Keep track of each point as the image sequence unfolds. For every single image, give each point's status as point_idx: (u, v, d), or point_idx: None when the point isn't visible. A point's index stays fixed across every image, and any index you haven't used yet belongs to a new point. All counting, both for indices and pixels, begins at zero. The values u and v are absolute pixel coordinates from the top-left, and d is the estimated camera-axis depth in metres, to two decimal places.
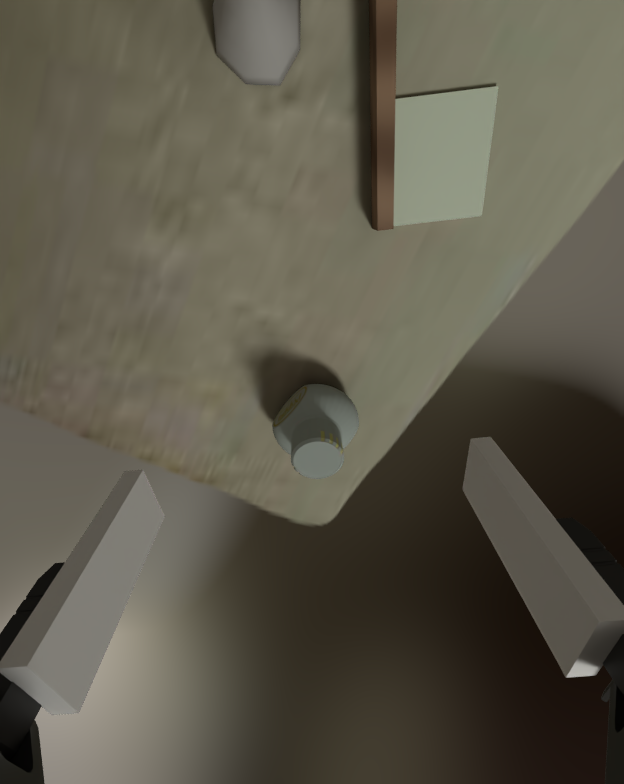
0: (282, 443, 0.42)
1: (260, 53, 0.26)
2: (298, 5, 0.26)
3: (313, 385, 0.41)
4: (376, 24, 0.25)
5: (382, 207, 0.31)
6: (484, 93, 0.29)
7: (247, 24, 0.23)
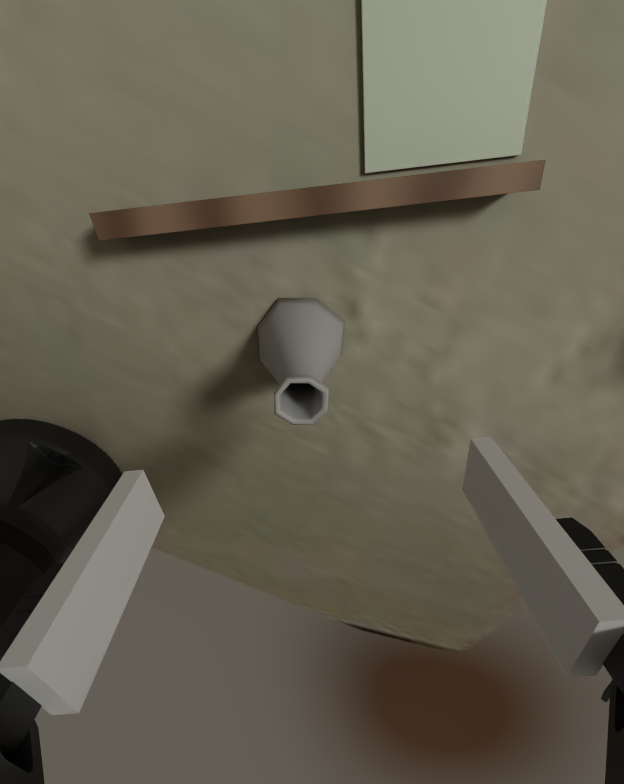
0: None
1: (332, 350, 0.25)
2: (284, 301, 0.26)
3: None
4: (307, 215, 0.21)
5: (508, 184, 0.20)
6: None
7: (324, 373, 0.23)
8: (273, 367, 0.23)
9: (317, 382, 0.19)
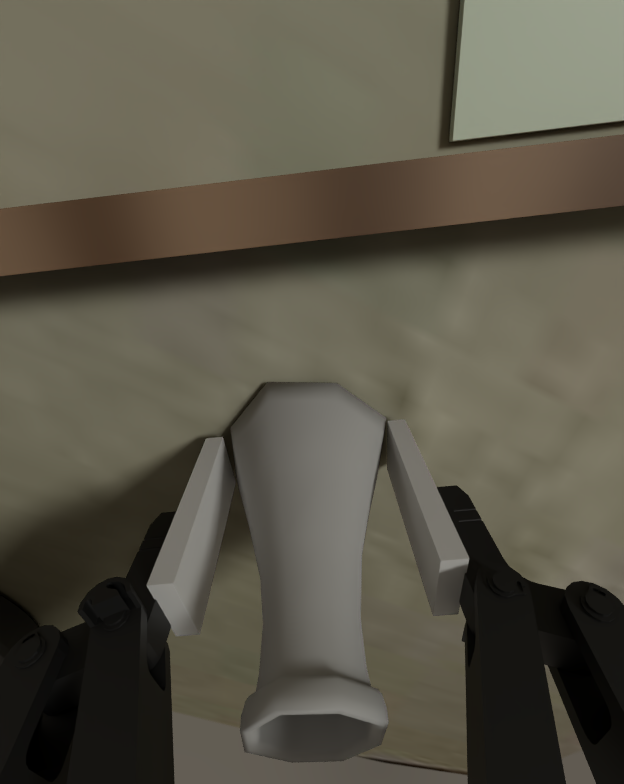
0: None
1: None
2: (278, 390, 0.14)
3: None
4: (328, 236, 0.09)
5: None
6: None
7: None
8: (253, 540, 0.12)
9: (359, 705, 0.07)
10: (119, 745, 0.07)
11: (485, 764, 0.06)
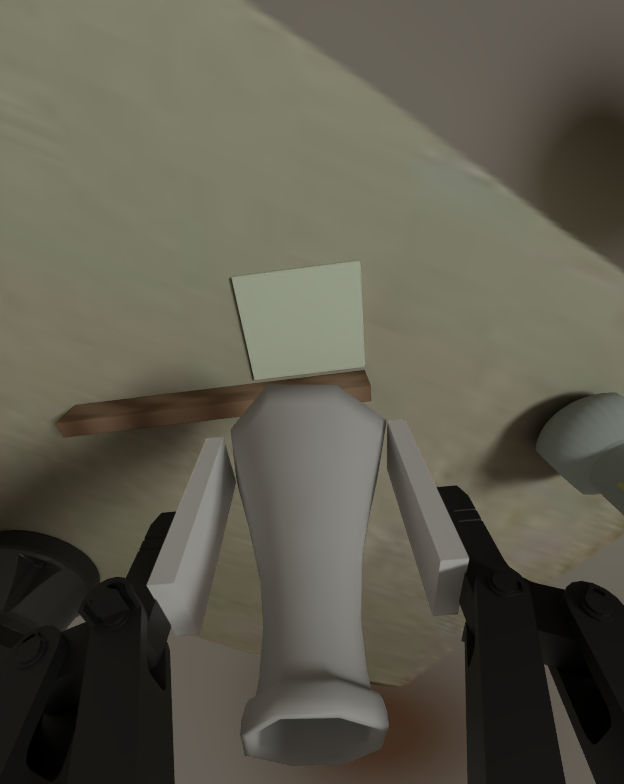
0: None
1: None
2: (278, 392, 0.14)
3: (539, 448, 0.33)
4: None
5: None
6: (239, 291, 0.27)
7: None
8: (253, 542, 0.12)
9: (359, 709, 0.07)
10: (119, 745, 0.07)
11: (485, 764, 0.06)
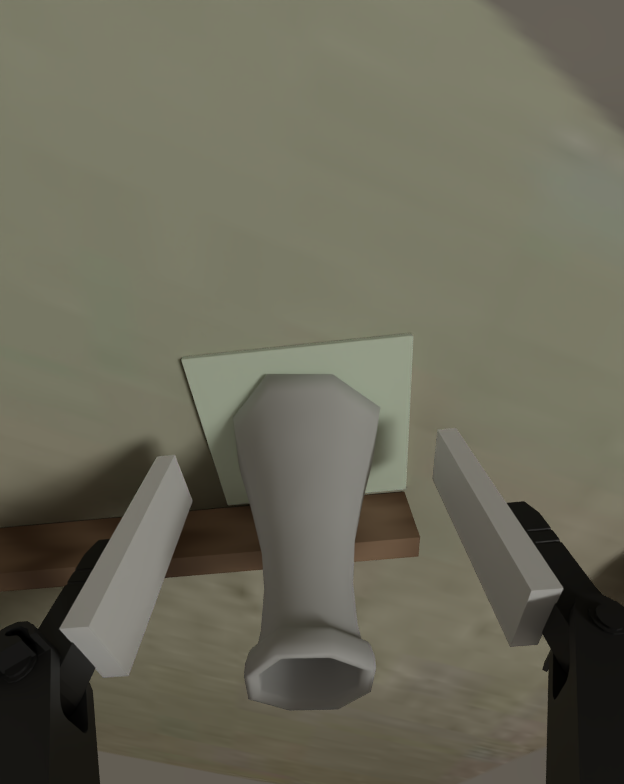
0: None
1: (364, 474, 0.14)
2: (277, 381, 0.15)
3: None
4: None
5: (380, 553, 0.17)
6: (197, 382, 0.15)
7: None
8: (255, 519, 0.12)
9: (349, 651, 0.08)
10: None
11: None
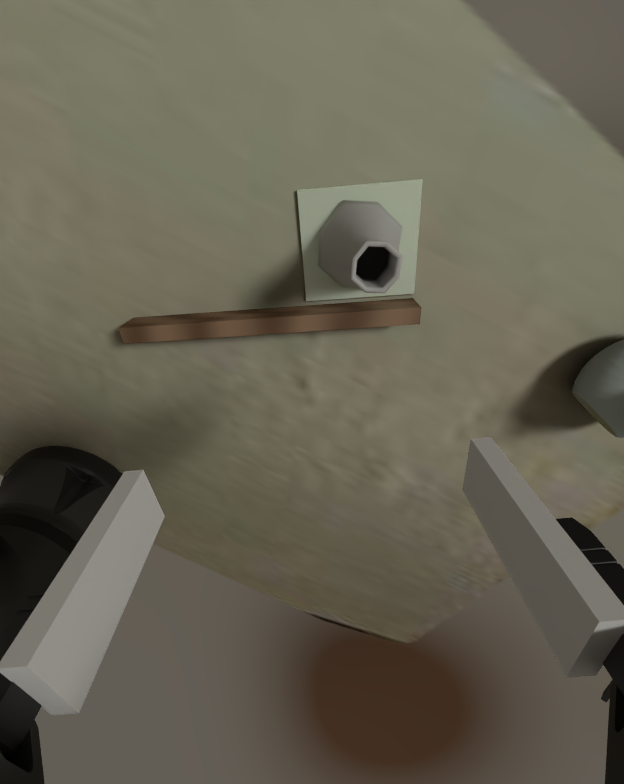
0: None
1: (393, 247, 0.26)
2: (348, 202, 0.27)
3: (577, 387, 0.33)
4: (263, 333, 0.31)
5: (398, 320, 0.30)
6: (303, 205, 0.28)
7: None
8: (340, 256, 0.25)
9: (393, 246, 0.20)
10: None
11: None
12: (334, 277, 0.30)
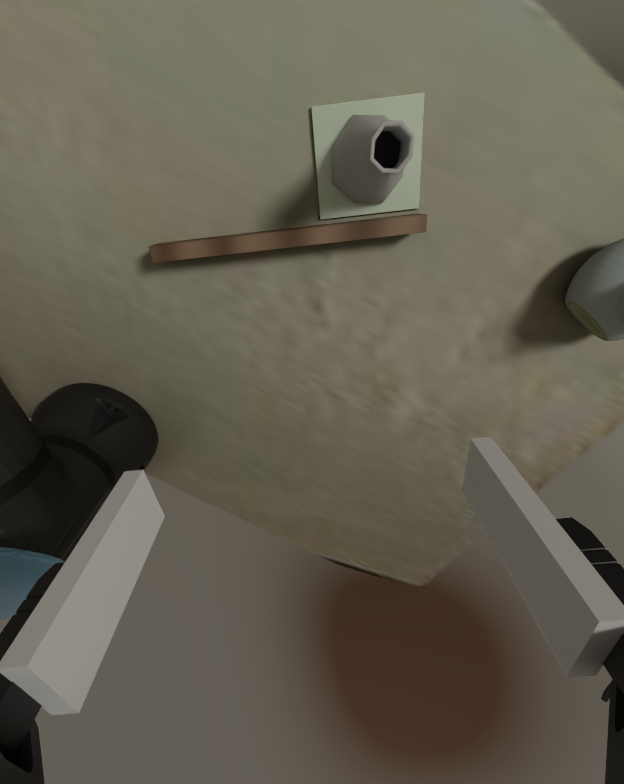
0: None
1: None
2: (358, 116, 0.30)
3: (570, 293, 0.37)
4: (282, 247, 0.33)
5: (406, 228, 0.33)
6: (317, 122, 0.31)
7: None
8: (354, 158, 0.28)
9: (406, 126, 0.23)
10: None
11: None
12: (347, 191, 0.32)
